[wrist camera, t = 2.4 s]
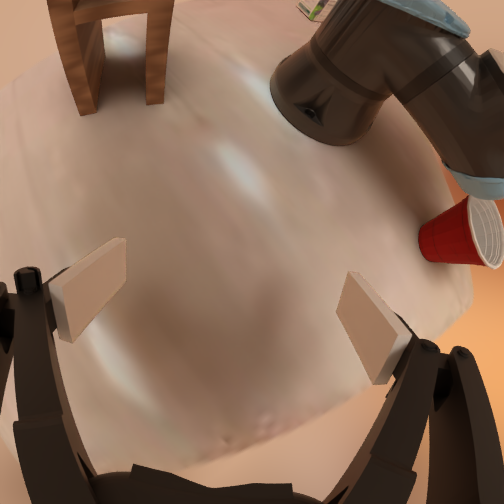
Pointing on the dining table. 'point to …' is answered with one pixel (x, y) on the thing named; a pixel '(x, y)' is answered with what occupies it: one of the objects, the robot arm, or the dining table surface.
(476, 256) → the plastic cup
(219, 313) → the dining table surface
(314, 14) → the syrup box
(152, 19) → the walnut shelf
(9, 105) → the dining table surface
